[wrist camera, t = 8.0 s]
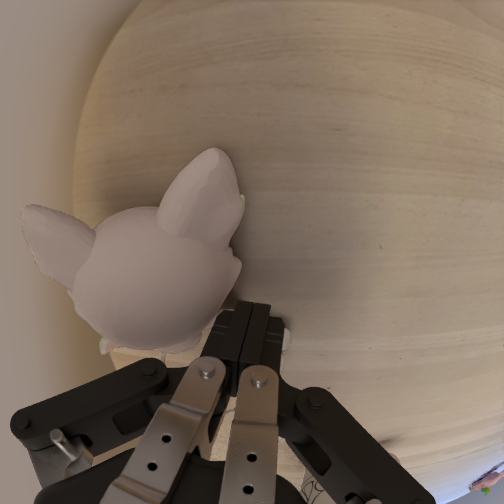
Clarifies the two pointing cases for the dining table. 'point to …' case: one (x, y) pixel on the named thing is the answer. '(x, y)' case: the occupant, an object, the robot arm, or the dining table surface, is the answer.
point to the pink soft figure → (486, 482)
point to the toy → (150, 260)
